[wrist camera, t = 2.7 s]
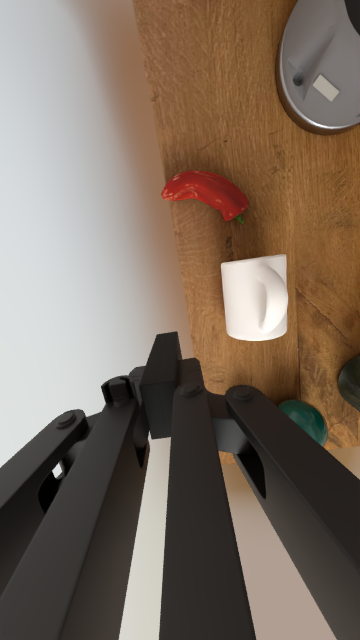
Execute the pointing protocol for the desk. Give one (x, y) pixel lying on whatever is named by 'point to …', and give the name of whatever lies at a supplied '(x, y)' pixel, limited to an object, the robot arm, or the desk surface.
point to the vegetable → (208, 192)
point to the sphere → (306, 418)
